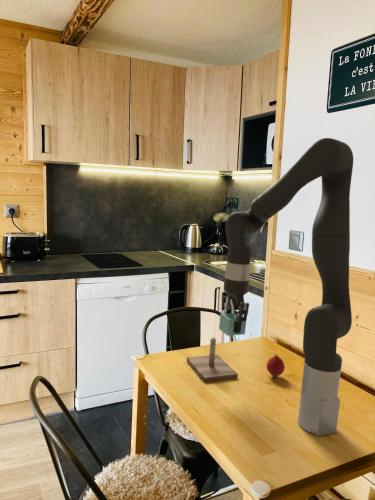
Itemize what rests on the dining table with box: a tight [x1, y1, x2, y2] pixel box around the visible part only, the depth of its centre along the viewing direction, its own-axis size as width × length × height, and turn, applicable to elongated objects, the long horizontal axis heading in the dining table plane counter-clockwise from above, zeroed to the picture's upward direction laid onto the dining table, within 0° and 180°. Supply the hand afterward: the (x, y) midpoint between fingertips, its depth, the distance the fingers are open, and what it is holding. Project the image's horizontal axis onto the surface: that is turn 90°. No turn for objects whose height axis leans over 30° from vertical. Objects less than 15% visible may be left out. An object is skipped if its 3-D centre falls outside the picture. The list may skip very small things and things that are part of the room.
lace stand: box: [186, 337, 239, 383], centre depth 138 cm, size 16×12×11 cm
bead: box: [218, 312, 247, 336], centre depth 126 cm, size 6×6×5 cm
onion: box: [266, 353, 285, 378], centre depth 136 cm, size 6×6×8 cm
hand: (231, 328), depth 127 cm, fingers closed on bead, 6 cm apart
